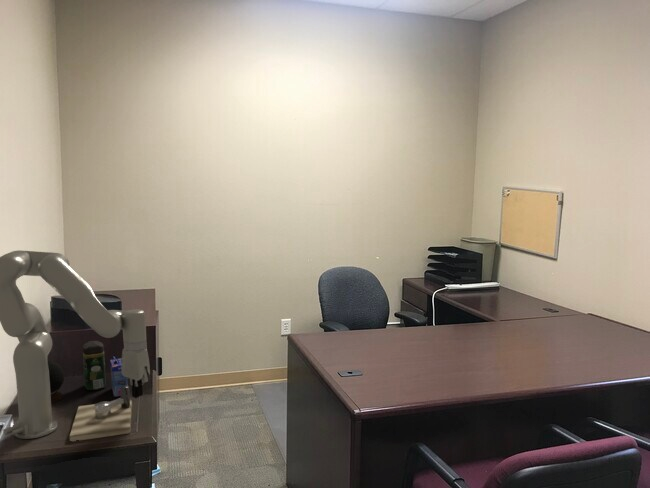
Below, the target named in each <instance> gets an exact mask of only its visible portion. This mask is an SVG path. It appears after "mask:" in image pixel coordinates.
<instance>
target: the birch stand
mask: <svg viewBox="0 0 650 488" xmlns="http://www.w3.org/2000/svg"><path fill="white" fill-rule="evenodd" d="M95 404H96V403H94V404H87V405H79V406H78V407H77V411H76V414H75V417H74V420H73V423H72V427H71V431H70V434H69V442H70V441H72V442H77V441H76V440H79V441H85V440H92V439H98V438H106V437H112V436H119V435H124V434H125V435H126V434H131V426H132V425H131V424H132V411H133V400H132V399H130V406H129V407H125V408H123V407H121V404H120V405H117V406H115V407H112V408H111V415H110V416H109V417H107V418H102V419H98V418H95Z"/></svg>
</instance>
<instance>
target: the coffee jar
mask: <svg viewBox="0 0 650 488" xmlns="http://www.w3.org/2000/svg"><path fill="white" fill-rule="evenodd" d="M104 348H105V346H104V343H103V342H101V341H99V340H89V341H87V342H86V343H84V344H83V345H82V363H83V374H84V375H83V376H84V377H83V378H84V379H83V381H84V388H85V389H86V390H87V391H98V390H100V389H104V388H106V385H107V381H106V379H107V376H106V362H105V349H104Z"/></svg>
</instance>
